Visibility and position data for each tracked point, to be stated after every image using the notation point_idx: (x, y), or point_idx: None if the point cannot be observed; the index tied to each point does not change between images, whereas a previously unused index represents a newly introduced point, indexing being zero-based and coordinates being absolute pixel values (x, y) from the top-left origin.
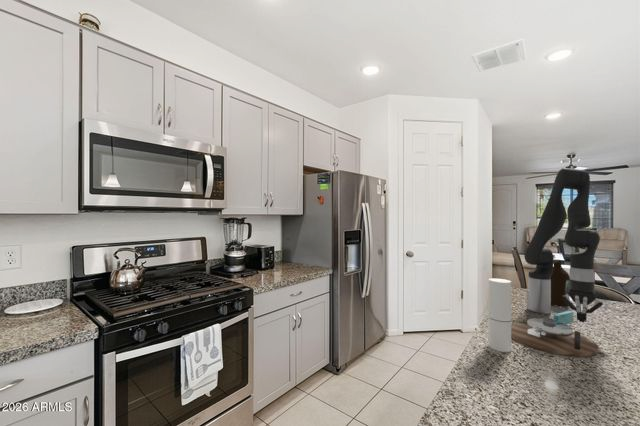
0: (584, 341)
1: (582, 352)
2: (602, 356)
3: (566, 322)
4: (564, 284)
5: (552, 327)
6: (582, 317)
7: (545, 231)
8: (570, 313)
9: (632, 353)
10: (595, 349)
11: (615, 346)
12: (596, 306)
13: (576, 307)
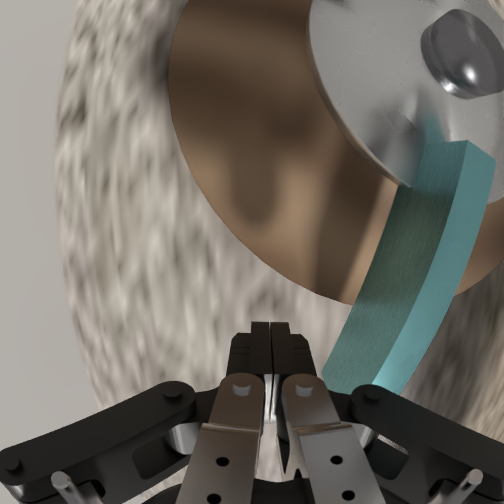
0: (239, 129)
1: None
2: (159, 36)
3: (370, 286)
4: None
5: (422, 8)
6: (261, 344)
7: None
8: None
9: (61, 213)
10: (181, 33)
11: (117, 263)
12: (72, 445)
13: (336, 416)
